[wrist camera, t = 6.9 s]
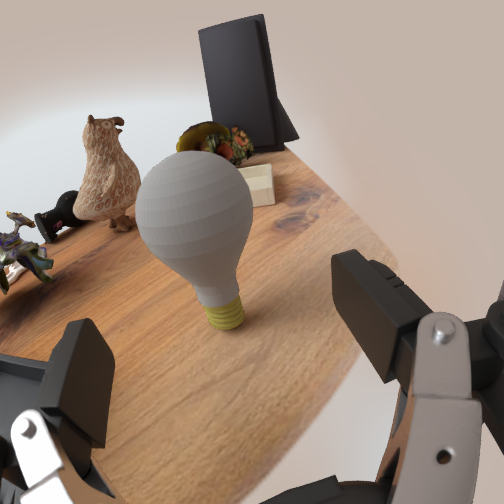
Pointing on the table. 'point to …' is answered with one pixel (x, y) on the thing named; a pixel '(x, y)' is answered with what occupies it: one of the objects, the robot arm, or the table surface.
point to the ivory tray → (260, 184)
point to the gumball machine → (58, 217)
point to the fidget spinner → (14, 272)
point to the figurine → (106, 176)
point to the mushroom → (216, 141)
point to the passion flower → (22, 253)
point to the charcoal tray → (16, 399)
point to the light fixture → (244, 82)
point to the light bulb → (199, 226)
